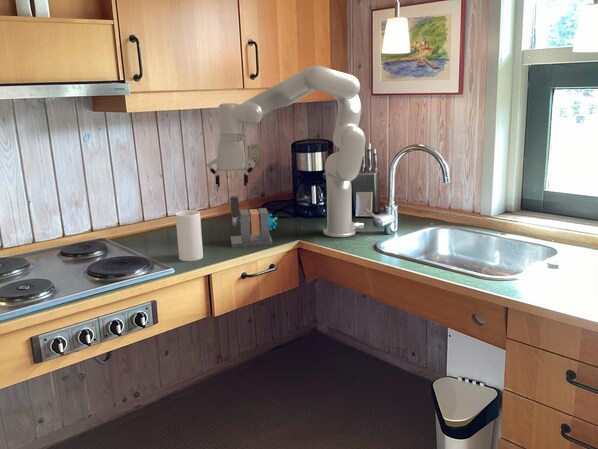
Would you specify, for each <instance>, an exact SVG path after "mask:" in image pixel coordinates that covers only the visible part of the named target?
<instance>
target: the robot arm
mask: <svg viewBox="0 0 598 449" xmlns="http://www.w3.org/2000/svg"><path fill="white" fill-rule="evenodd" d="M316 91H318V92H321V93H324V94H328V95H331V96H332V97H333V98H334V99H335V100H336V102H337V106H338V110H337V118H336V121H335V122H336V123H335V126H334V130H333V136H332V141H333V144H334V145H335V146H336V148H338V151H337V152H334V153H332V154H330V155H329V156H328V157H327V158H326V160H325V164H324V174H325V180H326V219H327V220H326V224H327V226H326V228H324V229H323V235H325V236H328V237H331V238H347V237H351V236H355V234H356V229H364V228H365V224H364V222H353V221H352V209H353V208H352V205H353V204H352V202H353V201H352V193H353V192H352V191H353V189H352V181H354V180H355V179H356V178H357V177H358V175H359V173H360V170H361V167H362V163H363V157H364V153H365V148H366V134H365V133H364V130H363V129H361V128H360V127H359V126H360V121H361V115H362V103H361V99H360V96H359V93H360V91H361V83H360V81H359V79H358V78H357V77H356V76H354V75H352V74H350V73H346V72H342V71H339V70H335V69H331V68H330V67H329V68H328V67H326V66H322V65H313V66H312V65H311V66H309V67H306V68H304V69H303V70H301V71H299V72H297V73H295V74H293V75H291V76H290V77H288V78H286V79H284V80H283V81H280V82H278V83H277V84H275V85H273V86H271V87H269V88H268V89H266V90H264V91H262V92H260V93H258V94H256V95H254V96H253V97H250V98H249V99H247V100H245V101H243V102H242V103H236V102H235V103H233V102H231V103H230V102H228V103H227V102H226V103H224V102H223V103H220V104H219V105H218V126H219V127H218V129H219V131H218V132H219V142H217V146H216V158H215V159H213V160H211V161H209V162H207V163H206V166H207V168H208V169H209V172H210V173H212V174H213V175H214V178H215V185H217V187H218V188H219V187H220V186H221V185H220V184H221V182H220V180H221V179H220V178H221V177H220V173H221V172H222V171H223V172H224V171H226V172H227V171H242V172H243V173H244V174H243V185H244V187H247V184H249V175H250V173H251V172H252V171H253V170H254V168H255V166H256V162H255V161H253V160H251V159H249V158H247V157H246V154H245V145H244V142H243V141H242V140H244V139H246V137H245V134H242V132H241V124H244V125H245V124H246V125H247V124H248V125H256V124H258V123H260V121H261V120H262V119H263V116H264V115H265V114H268V113H269V112H272V111H273V110H277V109H280V108H285V107H288V106H290V105H292V104H294V103H296V102H298V101H299V100H301V99H302V98H305V97H306V96H309V95H310V94H312V93H314V92H316ZM246 163H248V164H250V166H249V167H248V168H246ZM215 164H216V167H217V169H216V170H215V169H214V168H213V165H215Z"/></svg>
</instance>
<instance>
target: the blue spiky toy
mask: <svg viewBox="0 0 598 449" xmlns="http://www.w3.org/2000/svg"><path fill="white" fill-rule="evenodd" d="M277 220H278V217H277V216H275V217H273V214H272V213H269V232H272V231H273V230H275V229H276V228H277V225H278V222H277Z"/></svg>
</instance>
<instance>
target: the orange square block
mask: <svg viewBox="0 0 598 449" xmlns="http://www.w3.org/2000/svg"><path fill="white" fill-rule="evenodd" d="M248 212H249V216H250V217H251V223H250V235H260V227H259V213H258V208H251V209H248Z"/></svg>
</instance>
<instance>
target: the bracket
mask: <svg viewBox="0 0 598 449" xmlns="http://www.w3.org/2000/svg"><path fill="white" fill-rule="evenodd" d="M257 210H258V213H259V215H260V223H259V227H260V235H251V231H250V218H249V209H247V208H245V209H239V216H241V224H240V235H233V236H230V244H231V248H232V249H236V248H248V247H263V246H273V242H274V241H273V239H272V237H271V234H270V231H269V215H270V213H269V211H268V209H267V207H260V208H257Z"/></svg>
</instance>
